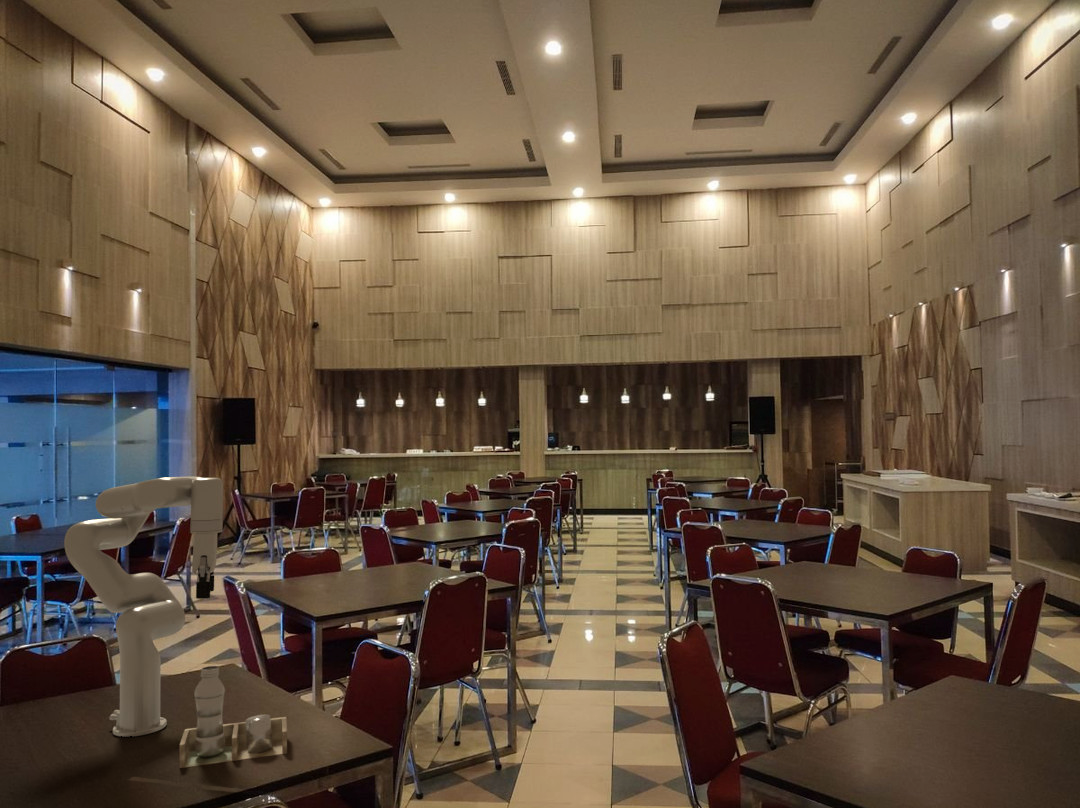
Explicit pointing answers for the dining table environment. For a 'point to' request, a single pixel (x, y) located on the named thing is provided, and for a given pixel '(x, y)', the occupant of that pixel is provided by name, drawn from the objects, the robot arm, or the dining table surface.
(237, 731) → the divider rack
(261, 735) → the grey short cylinder
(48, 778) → the dining table surface
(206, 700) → the plastic bottle
